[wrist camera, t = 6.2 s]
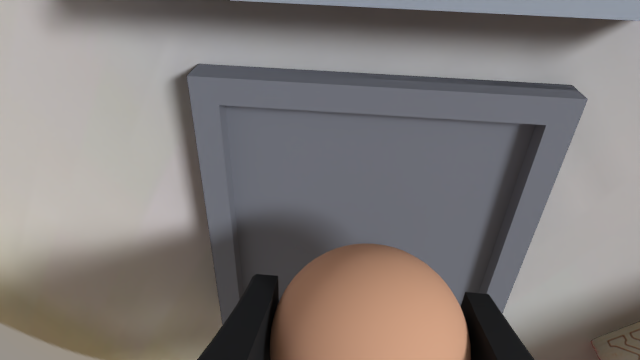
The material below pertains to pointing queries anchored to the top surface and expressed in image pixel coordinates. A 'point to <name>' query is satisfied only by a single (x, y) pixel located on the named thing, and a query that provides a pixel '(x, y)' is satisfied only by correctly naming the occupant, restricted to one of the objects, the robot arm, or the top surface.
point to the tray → (375, 170)
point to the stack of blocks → (619, 344)
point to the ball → (368, 310)
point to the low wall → (500, 6)
